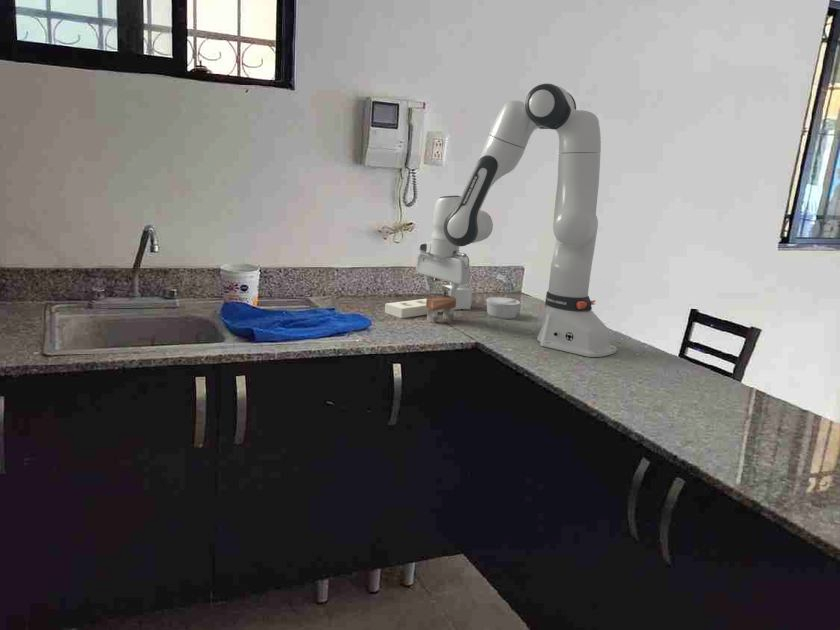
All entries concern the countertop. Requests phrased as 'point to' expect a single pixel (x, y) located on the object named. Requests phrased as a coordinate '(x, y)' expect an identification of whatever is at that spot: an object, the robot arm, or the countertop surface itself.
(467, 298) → the medicine bottle
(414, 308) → the white flat block
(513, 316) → the ramekin
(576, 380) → the countertop surface
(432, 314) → the clip
